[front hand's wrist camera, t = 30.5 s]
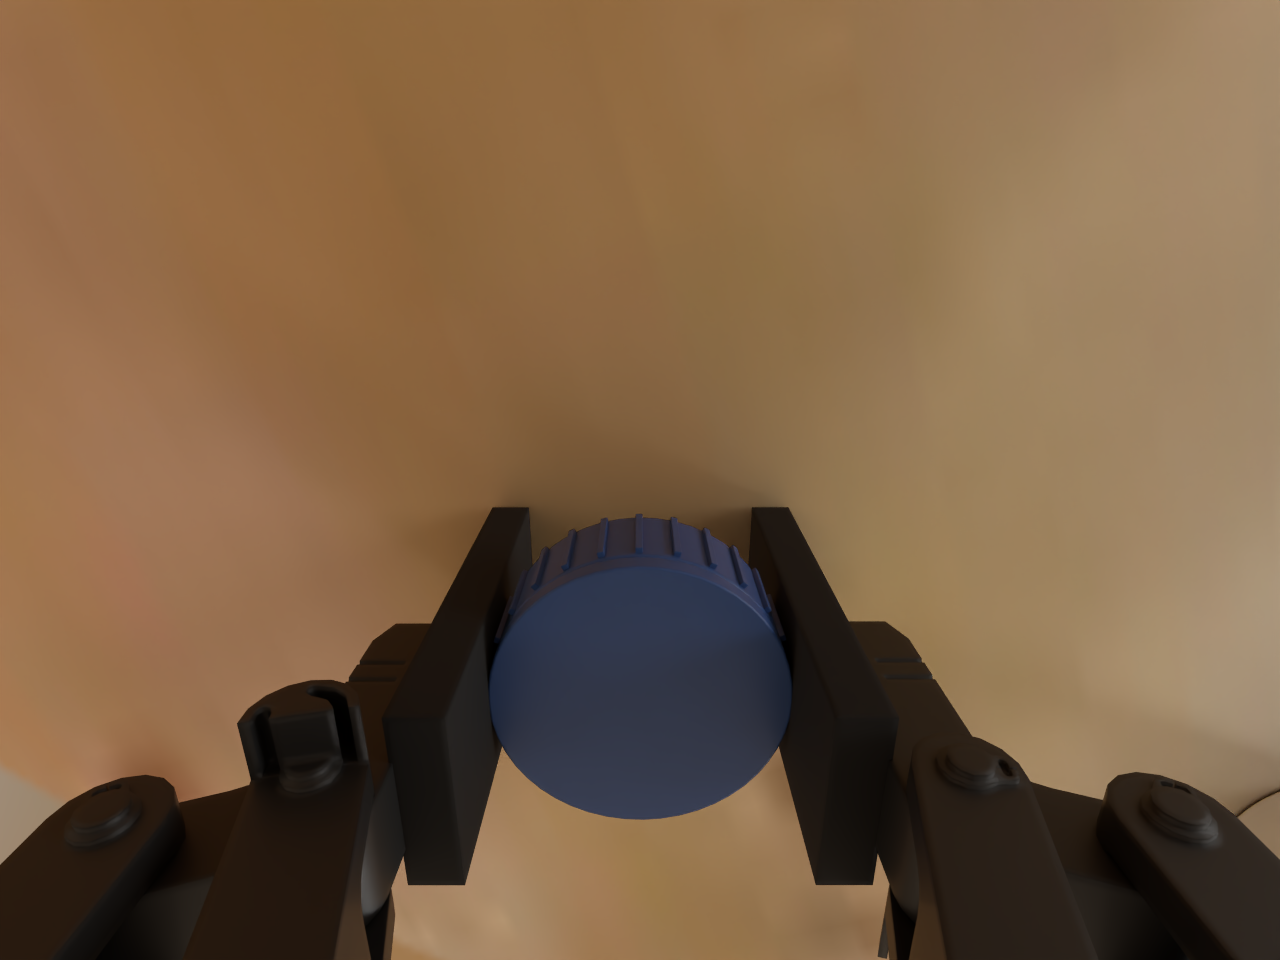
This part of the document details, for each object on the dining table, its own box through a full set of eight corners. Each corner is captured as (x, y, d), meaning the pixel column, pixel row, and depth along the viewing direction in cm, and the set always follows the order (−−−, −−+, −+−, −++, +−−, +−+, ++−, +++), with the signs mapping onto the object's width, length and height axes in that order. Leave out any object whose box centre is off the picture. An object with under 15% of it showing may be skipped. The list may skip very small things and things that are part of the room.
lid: (511, 496, 11) (487, 546, 10) (800, 527, 12) (827, 580, 10) (499, 732, 13) (477, 810, 11) (751, 755, 13) (768, 835, 11)
